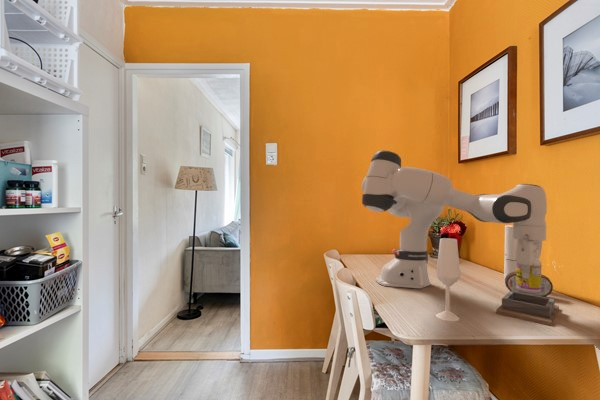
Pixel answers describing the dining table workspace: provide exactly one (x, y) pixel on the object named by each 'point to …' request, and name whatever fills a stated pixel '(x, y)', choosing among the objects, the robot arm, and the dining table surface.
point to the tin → (545, 291)
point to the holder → (529, 307)
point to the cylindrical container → (509, 252)
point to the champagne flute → (448, 272)
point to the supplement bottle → (535, 277)
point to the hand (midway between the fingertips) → (528, 276)
